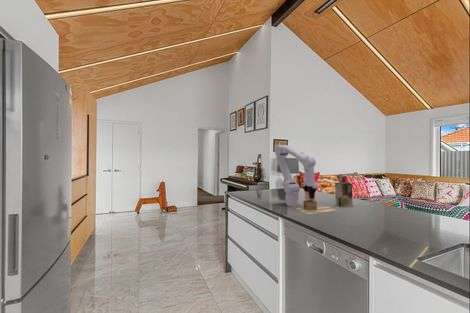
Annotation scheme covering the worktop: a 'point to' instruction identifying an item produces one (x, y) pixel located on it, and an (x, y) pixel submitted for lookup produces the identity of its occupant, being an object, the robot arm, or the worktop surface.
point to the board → (319, 210)
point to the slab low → (310, 207)
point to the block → (308, 196)
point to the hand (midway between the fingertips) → (309, 198)
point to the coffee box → (343, 194)
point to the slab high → (310, 203)
